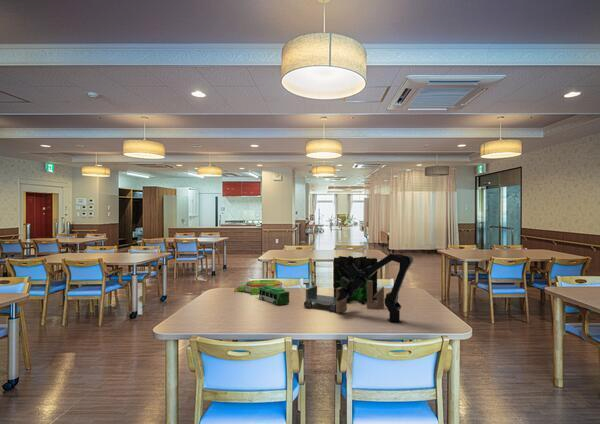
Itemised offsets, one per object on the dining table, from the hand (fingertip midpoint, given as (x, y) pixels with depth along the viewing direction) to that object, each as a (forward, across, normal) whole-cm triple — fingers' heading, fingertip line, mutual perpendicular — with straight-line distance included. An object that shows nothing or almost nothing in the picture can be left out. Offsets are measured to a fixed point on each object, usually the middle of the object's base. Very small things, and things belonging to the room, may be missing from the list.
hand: (339, 299), depth 223 cm
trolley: (+15, -8, -4) cm, 17 cm away
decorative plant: (+10, -39, +3) cm, 40 cm away
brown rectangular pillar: (+4, 0, +6) cm, 7 cm away
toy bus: (+43, -4, -31) cm, 53 cm away
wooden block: (-5, -22, +17) cm, 28 cm away
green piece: (+62, -28, -50) cm, 85 cm away
